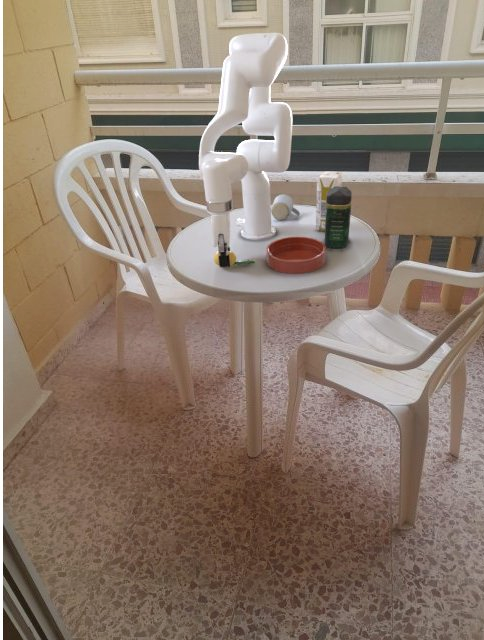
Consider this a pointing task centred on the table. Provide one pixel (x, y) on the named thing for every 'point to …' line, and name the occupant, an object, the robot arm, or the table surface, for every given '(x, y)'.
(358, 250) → the table surface
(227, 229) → the robot arm
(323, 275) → the table surface
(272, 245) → the bowl
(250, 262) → the tulip
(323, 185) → the juice carton
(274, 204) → the ceramic mug
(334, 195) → the coffee jar
